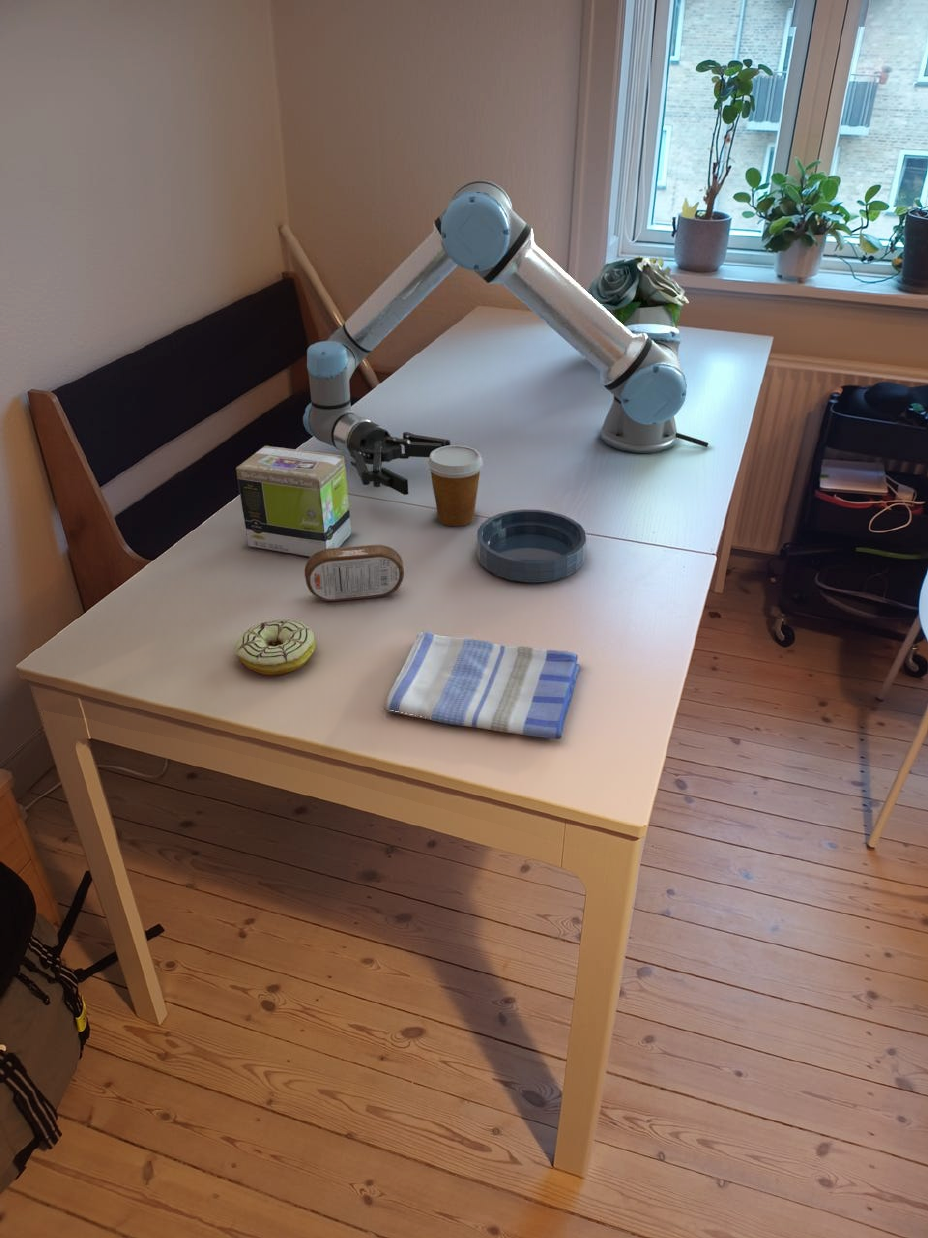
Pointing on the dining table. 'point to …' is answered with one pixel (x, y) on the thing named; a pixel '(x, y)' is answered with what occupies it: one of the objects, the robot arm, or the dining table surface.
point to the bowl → (531, 545)
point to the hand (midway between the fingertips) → (436, 475)
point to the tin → (354, 572)
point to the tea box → (294, 500)
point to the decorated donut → (275, 646)
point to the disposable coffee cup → (455, 482)
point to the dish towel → (486, 685)
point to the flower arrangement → (639, 292)
